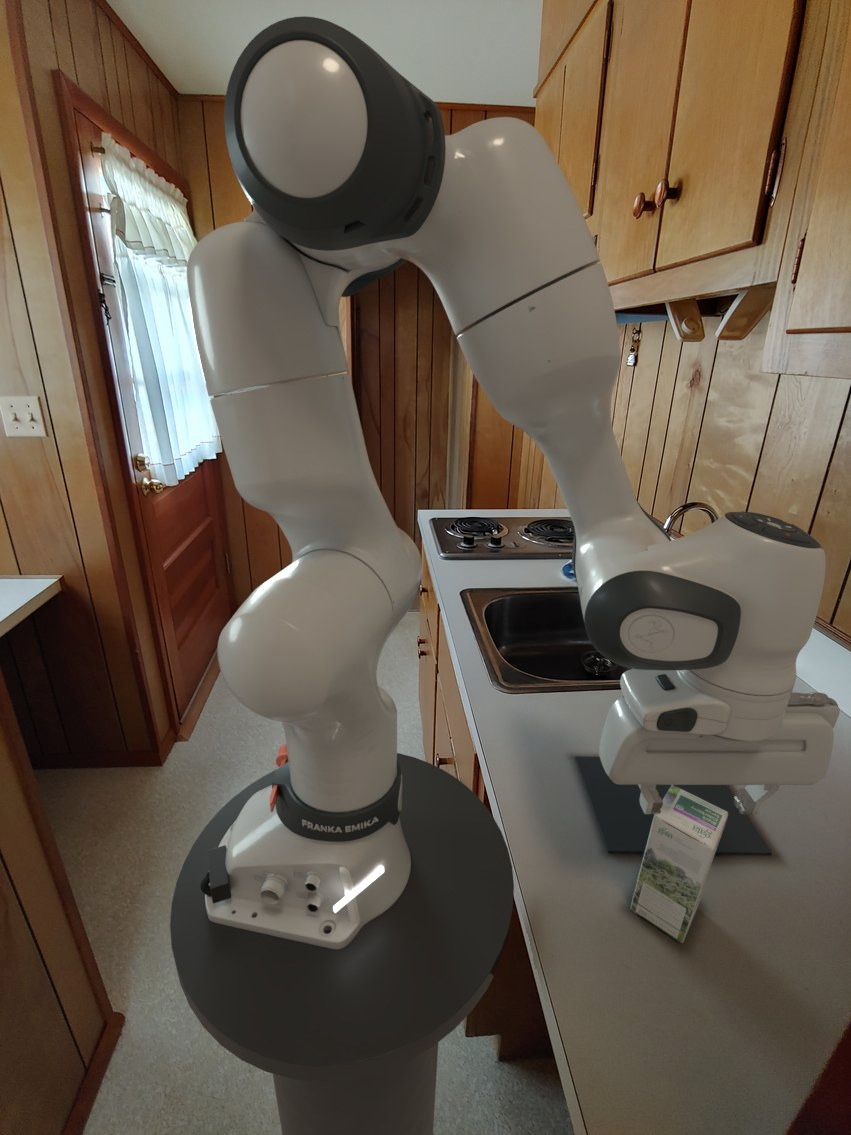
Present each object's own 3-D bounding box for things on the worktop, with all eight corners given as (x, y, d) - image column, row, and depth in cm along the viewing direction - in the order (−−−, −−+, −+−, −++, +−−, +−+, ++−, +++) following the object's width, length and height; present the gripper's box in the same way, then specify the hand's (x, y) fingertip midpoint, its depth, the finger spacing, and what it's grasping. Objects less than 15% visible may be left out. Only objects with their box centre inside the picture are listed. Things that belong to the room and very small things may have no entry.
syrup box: (698, 906, 61) (731, 808, 55) (682, 947, 57) (714, 846, 51) (647, 875, 64) (672, 780, 58) (627, 912, 60) (652, 813, 54)
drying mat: (607, 852, 67) (608, 850, 67) (574, 758, 81) (574, 756, 81) (771, 855, 67) (772, 852, 67) (708, 760, 82) (709, 758, 81)
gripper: (820, 673, 52) (782, 785, 57) (604, 672, 52) (586, 784, 57) (870, 716, 46) (822, 836, 52) (627, 715, 46) (605, 835, 51)
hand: (696, 809), depth 54 cm, fingers open, 8 cm apart
